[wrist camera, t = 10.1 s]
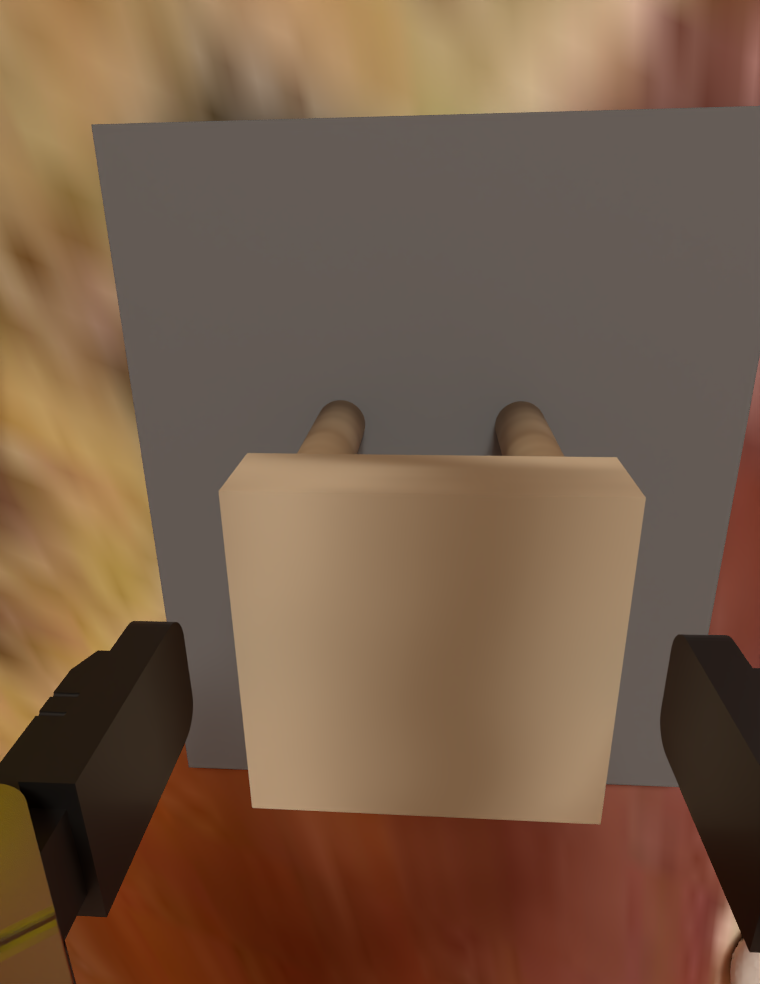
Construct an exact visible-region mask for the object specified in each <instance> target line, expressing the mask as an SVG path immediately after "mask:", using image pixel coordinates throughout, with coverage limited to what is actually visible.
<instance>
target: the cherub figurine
mask: <svg viewBox="0 0 760 984" xmlns="http://www.w3.org/2000/svg"><path fill="white" fill-rule="evenodd" d="M734 951H735V952H734V953H733V954H732V961H731V967H730V968H731V969H730V975H731V984H760V953H753V952H749V950H748V948H747V945H746V943H745V941H744V939H741V941H740V942H739V943H738V945H737V947H736V948H735V950H734Z"/></svg>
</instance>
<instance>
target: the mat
mask: <svg viewBox="0 0 760 984" xmlns="http://www.w3.org/2000/svg"><path fill="white" fill-rule="evenodd" d="M91 126H92V132H93V139H94V145H95V152H96V159H97V165H98V172H99V178H100V185H101V191H102V198H103V205H104V211H105V218H106V224H107V231H108V238H109V244H110V251H111V257H112V264H113V270H114V277H115V284H116V290H117V297H118V303H119V310H120V316H121V323H122V330H123V336H124V343H125V349H126V356H127V363H128V369H129V376H130V382H131V389H132V395H133V402H134V409H135V415H136V422H137V428H138V435H139V441H140V448H141V455H142V461H143V468H144V474H145V481H146V488H147V494H148V501H149V507H150V514H151V520H152V527H153V534H154V540H155V547H156V553H157V560H158V566H159V573H160V580H161V586H162V593H163V599H164V606H165V613H166V619H167V622H178V623H179V624H180V625H181V627H182V630H183V634H184V640H185V647H186V654H187V661H188V667H189V674H190V681H191V688H192V695H193V716H192V722H191V727H190V731H189V734H188V737H187V739H186V742H185V744H186V751H187V757H188V764H189V767H195V768H220V769H245V770H248V764H247V754H246V745H245V736H244V726H243V717H242V707H241V698H240V689H239V679H238V670H237V660H236V651H235V642H234V632H233V623H232V613H231V604H230V595H229V585H228V576H227V567H226V557H225V548H224V538H223V529H222V520H221V510H220V501H219V490H220V489H221V487H222V486H223V485H224V483H225V482H226V481H227V479H228V478H229V477H230V475H231V474H232V473H233V471H234V470H235V469H236V467H237V466H238V465H239V463H240V462H241V461H242V459H243V458H244V457H245V455H246V454H247V453H286V454H297V453H298V451H299V449H300V447H301V445H302V444H303V442H304V440H305V438H306V436H307V435H308V433H309V431H310V429H311V427H312V425H313V424H314V422H315V420H316V418H317V416H318V415H319V413H320V411H321V410H322V408H323V407H324V406H325V405H327V404H328V403H330V402H333V401H337V400H344V401H348V402H351V403H353V404H354V405H356V406H357V407H358V408H359V409H360V410H361V412H362V414H363V416H364V419H365V430H364V433H363V436H362V440H361V443H360V446H359V449H358V452H357V454H375V455H463V456H502V453H501V449H500V445H499V442H498V438H497V434H496V430H495V422H496V418H497V416H498V414H499V413H500V411H501V410H502V409H503V408H504V407H505V406H507V405H509V404H511V403H513V402H518V401H525V402H529V403H532V404H534V405H535V406H537V407H538V408H539V409H540V411H541V412H542V414H543V416H544V418H545V420H546V422H547V424H548V426H549V427H550V429H551V431H552V433H553V435H554V437H555V439H556V441H557V443H558V445H559V447H560V449H561V451H562V453H563V455H564V457H617V458H618V460H619V461H620V462H621V464H622V465H623V467H624V468H625V469H626V471H627V472H628V474H629V475H630V476H631V478H632V479H633V480H634V482H635V483H636V485H637V486H638V487H639V489H640V490H641V492H642V493H643V494H644V496H645V497H646V501H645V508H644V515H643V522H642V529H641V537H640V544H639V551H638V558H637V565H636V573H635V580H634V587H633V594H632V601H631V608H630V616H629V623H628V630H627V637H626V644H625V652H624V659H623V666H622V673H621V680H620V687H619V695H618V702H617V709H616V716H615V723H614V731H613V738H612V745H611V752H610V759H609V766H608V774H607V781H606V784H617V785H642V786H667V787H679V785H678V783H677V780H676V778H675V776H674V773H673V771H672V769H671V766H670V764H669V762H668V759H667V757H666V754H665V752H664V748H663V744H662V739H661V731H660V713H661V706H662V700H663V695H664V689H665V683H666V677H667V671H668V665H669V659H670V653H671V647H672V643H673V640H674V638H675V637H676V636H677V635H678V634H686V635H708V632H709V626H710V621H711V616H712V610H713V605H714V599H715V594H716V588H717V583H718V578H719V572H720V567H721V561H722V556H723V551H724V545H725V540H726V534H727V529H728V524H729V518H730V513H731V507H732V502H733V496H734V491H735V486H736V480H737V475H738V469H739V464H740V459H741V453H742V448H743V442H744V437H745V431H746V426H747V421H748V415H749V410H750V404H751V399H752V394H753V388H754V383H755V377H756V372H757V367H758V361H759V356H760V106H746V107H710V108H674V109H637V110H601V111H565V112H529V113H493V114H457V115H420V116H384V117H348V118H312V119H276V120H240V121H203V122H167V123H131V124H95V125H91Z"/></svg>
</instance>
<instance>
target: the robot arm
mask: <svg viewBox="0 0 760 984" xmlns="http://www.w3.org/2000/svg"><path fill="white" fill-rule="evenodd" d="M39 712H40V713H39V716H35V718H34V719H33V720H32V721H31V723H30V724H29V725H28V727H27V728H26V729H25V731H24V732H23V733H22V735H21V736H20V737H19V739H18V740H17V741H16V743H15V744H14V745H13V746H12V748H11V749H10V750H9V752H8V753H7V754H6V756H5V757H4V758H3V760H2V761H1V762H0V984H76V981H75V977H74V973H73V970H72V966H71V962H70V958H69V954H68V950H67V947H66V943H65V939H66V937H67V934H68V932H69V930H70V928H71V926H72V924H73V922H74V920H75V918H76V916H95V917H107V915H108V913H109V911H110V909H111V906H112V904H113V902H114V900H115V898H116V895H117V893H118V891H119V889H120V886H121V884H122V882H123V880H124V878H125V875H126V873H127V871H128V869H129V866H130V864H131V862H132V860H133V857H134V855H135V853H136V851H137V849H138V846H139V844H140V842H141V840H142V837H143V835H144V833H145V831H146V828H147V826H148V824H149V822H150V820H151V817H152V815H153V813H154V811H155V808H156V806H157V804H158V802H159V799H160V797H161V795H162V793H163V791H164V788H165V786H166V784H167V782H168V779H169V777H170V775H171V773H172V771H173V768H174V766H175V764H176V762H177V759H178V757H179V755H180V753H181V750H182V748H183V746H184V744H185V742H186V739H187V737H188V734H189V731H190V727H191V722H192V716H193V695H192V688H191V681H190V674H189V667H188V661H187V654H186V647H185V640H184V634H183V630H182V627H181V625H180V624H179V623H178V622H153V621H133V622H131V623H130V624H129V625H128V626H127V627H126V629H125V630H124V632H123V633H122V634H121V636H120V637H119V639H118V640H117V642H116V643H115V644H114V646H113V647H112V649H111V650H110V651H97V652H95V653H94V654H92V655H91V656H90V657H88V658H87V659H85V660H84V661H82V662H81V663H80V664H78V665H77V666H75V667H74V668H73V669H71V670H70V671H69V673H68V674H67V675H66V677H65V678H64V679H63V681H62V682H61V683H60V685H59V686H58V687H57V689H56V690H55V691H54V695H53V697H50V698H49V699H48V700H47V702H46V703H45V704H44V706H43V707H42V708H41V710H40V711H39ZM660 731H661V739H662V744H663V748H664V752H665V754H666V757H667V759H668V762H669V764H670V766H671V769H672V771H673V773H674V776H675V778H676V780H677V783H678V785H679V788H680V790H681V792H682V795H683V797H684V799H685V802H686V804H687V806H688V809H689V811H690V813H691V816H692V818H693V821H694V823H695V825H696V828H697V830H698V832H699V835H700V837H701V839H702V842H703V844H704V846H705V849H706V851H707V854H708V856H709V858H710V861H711V863H712V865H713V868H714V870H715V872H716V875H717V877H718V879H719V882H720V884H721V887H722V889H723V891H724V894H725V896H726V898H727V901H728V903H729V905H730V908H731V910H732V912H733V915H734V917H735V920H736V922H737V924H738V927H739V929H740V931H741V934H742V936H743V938H744V941H745V943H746V945H747V948H748V950H749V952H753V953H760V668H752V667H751V665H750V664H749V662H748V661H747V660H746V658H745V657H744V655H743V654H742V652H741V651H740V649H739V648H738V646H737V645H736V644H735V642H734V641H733V640H732V638H731V637H729V636H727V635H686V634H678V635H677V636H676V637H675V638H674V640H673V643H672V647H671V653H670V659H669V665H668V671H667V677H666V683H665V689H664V695H663V700H662V706H661V713H660Z"/></svg>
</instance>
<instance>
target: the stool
mask: <svg viewBox="0 0 760 984" xmlns="http://www.w3.org/2000/svg"><path fill="white" fill-rule="evenodd" d="M364 430H365V419H364V416H363V414H362V412H361V410H360V409H359V408H358V407H357V406H356V405H354V404H353V403H351V402H348V401H344V400H337V401H333V402H330V403H328V404H327V405H325V406H324V407H323V408H322V410H321V411H320V413H319V415H318V416H317V418H316V420H315V422H314V424H313V425H312V427H311V429H310V431H309V433H308V435H307V436H306V438H305V440H304V442H303V444H302V445H301V447H300V449H299V451H298V453H297V454H286V453H247V454H246V455H245V457H244V458H243V459H242V461H241V462H240V463H239V465H238V466H237V467H236V469H235V470H234V471H233V473H232V474H231V475H230V477H229V478H228V479H227V481H226V482H225V483H224V485H223V486H222V487H221V489H220V490H219V501H220V510H221V520H222V529H223V538H224V548H225V557H226V567H227V576H228V585H229V595H230V604H231V613H232V623H233V632H234V642H235V651H236V660H237V670H238V679H239V689H240V698H241V707H242V717H243V726H244V736H245V745H246V754H247V764H248V773H249V782H250V792H251V801H252V808H266V809H287V810H308V811H329V812H351V813H372V814H393V815H414V816H435V817H456V818H477V819H498V820H519V821H540V822H561V823H582V824H601V817H602V810H603V802H604V795H605V788H606V781H607V774H608V766H609V759H610V752H611V745H612V738H613V731H614V723H615V716H616V709H617V702H618V695H619V687H620V680H621V673H622V666H623V659H624V652H625V644H626V637H627V630H628V623H629V616H630V608H631V601H632V594H633V587H634V580H635V573H636V565H637V558H638V551H639V544H640V537H641V529H642V522H643V515H644V508H645V501H646V497H645V496H644V494H643V493H642V492H641V490H640V489H639V487H638V486H637V485H636V483H635V482H634V480H633V479H632V478H631V476H630V475H629V474H628V472H627V471H626V469H625V468H624V467H623V465H622V464H621V462H620V461H619V460H618V458H617V457H564V455H563V453H562V451H561V449H560V447H559V445H558V443H557V441H556V439H555V437H554V435H553V433H552V431H551V429H550V427H549V426H548V424H547V422H546V420H545V418H544V416H543V414H542V412H541V411H540V409H539V408H538V407H537V406H535V405H534V404H532V403H529V402H525V401H518V402H513V403H511V404H509V405H507V406H505V407H504V408H503V409H502V410H501V411H500V413H499V414H498V416H497V418H496V422H495V430H496V434H497V438H498V442H499V445H500V449H501V453H502V456H463V455H375V454H357V452H358V449H359V446H360V443H361V440H362V436H363V433H364Z"/></svg>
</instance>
